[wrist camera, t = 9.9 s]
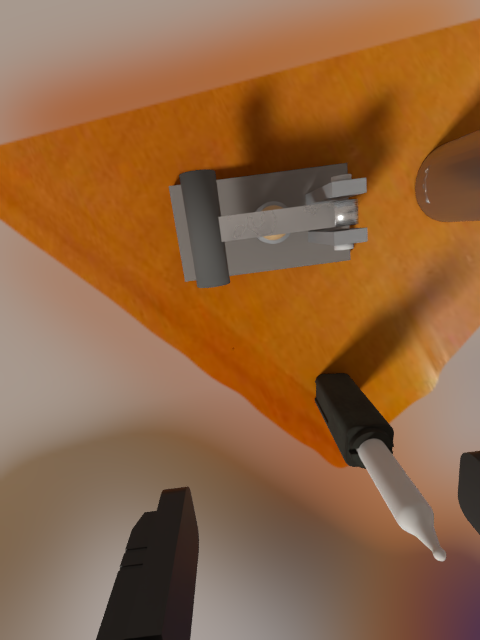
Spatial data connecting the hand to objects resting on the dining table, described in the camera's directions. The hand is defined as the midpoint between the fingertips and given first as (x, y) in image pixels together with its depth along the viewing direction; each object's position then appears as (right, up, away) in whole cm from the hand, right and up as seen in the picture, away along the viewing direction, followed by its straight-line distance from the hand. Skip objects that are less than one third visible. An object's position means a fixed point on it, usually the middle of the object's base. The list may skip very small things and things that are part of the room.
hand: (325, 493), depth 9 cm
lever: (0, +15, +23) cm, 27 cm away
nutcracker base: (0, +17, +31) cm, 35 cm away
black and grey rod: (+11, -5, +37) cm, 39 cm away
